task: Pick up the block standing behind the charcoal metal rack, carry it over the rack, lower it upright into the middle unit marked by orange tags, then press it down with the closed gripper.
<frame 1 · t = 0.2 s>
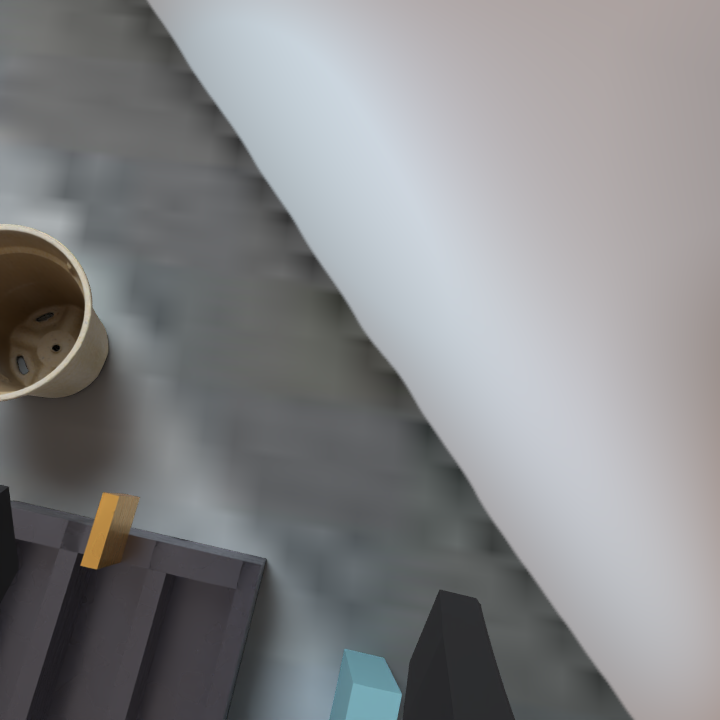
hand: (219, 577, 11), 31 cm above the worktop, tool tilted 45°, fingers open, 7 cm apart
rack: (95, 687, 38), on the worktop
flower pot: (59, 350, 42), on the worktop
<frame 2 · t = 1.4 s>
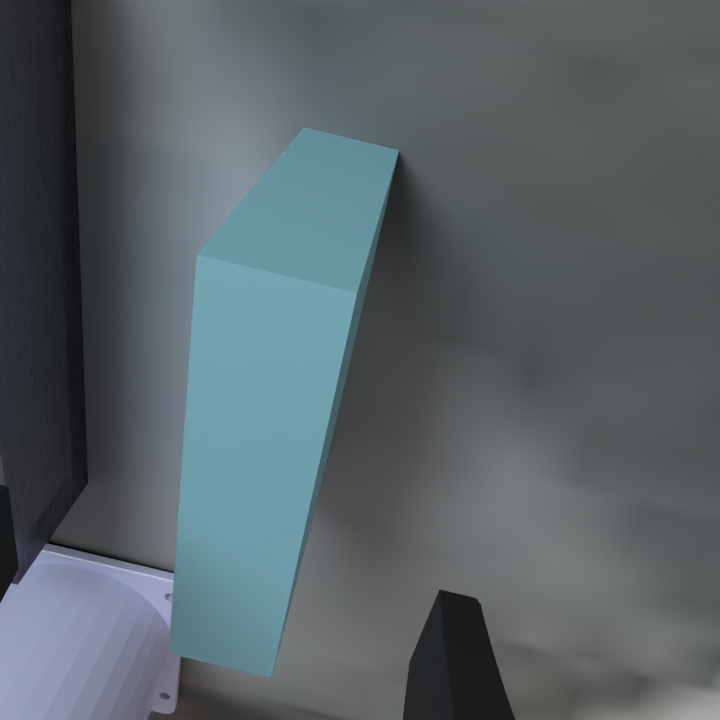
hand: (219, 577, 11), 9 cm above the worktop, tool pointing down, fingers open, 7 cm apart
block: (318, 312, 19), on the worktop
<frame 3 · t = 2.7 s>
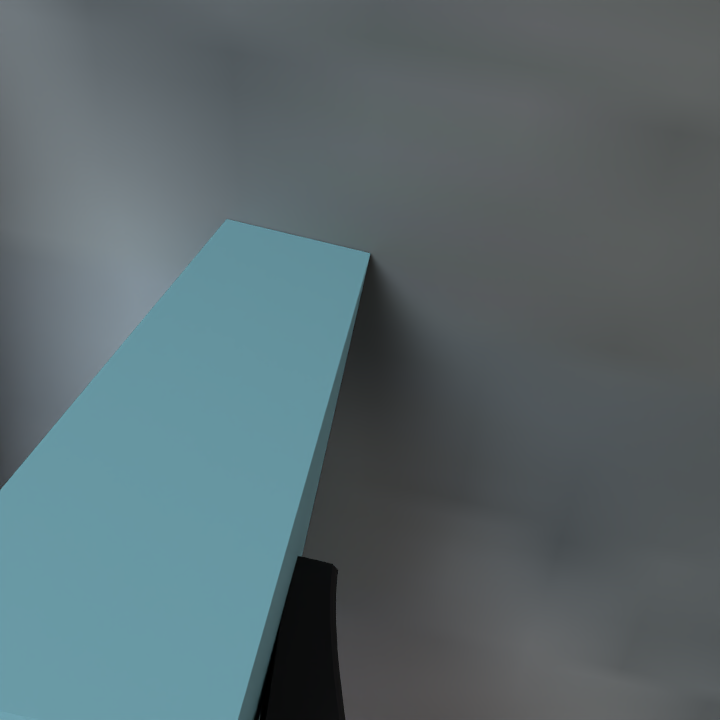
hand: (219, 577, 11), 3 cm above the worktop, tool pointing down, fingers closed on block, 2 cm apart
block: (262, 461, 14), on the worktop, touching gripper
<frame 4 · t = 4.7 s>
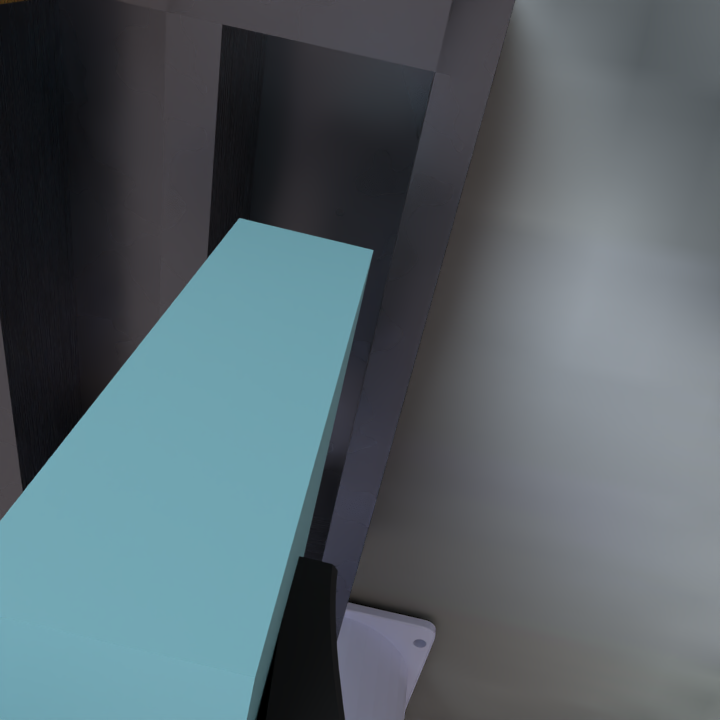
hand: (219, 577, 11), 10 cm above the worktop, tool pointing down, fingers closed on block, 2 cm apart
rack: (153, 267, 19), on the worktop
block: (271, 447, 14), point 6 cm above the worktop, touching gripper
when the fingers open (5 cm above the worktop, at t = 6.6 s): block stays where it is, resting on rack.
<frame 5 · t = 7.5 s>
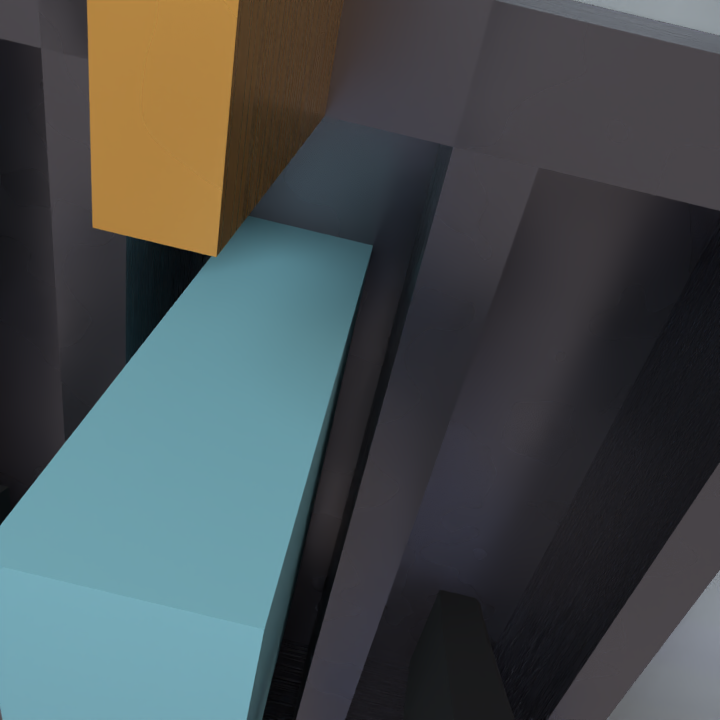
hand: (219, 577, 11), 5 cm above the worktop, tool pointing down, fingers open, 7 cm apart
rack: (286, 398, 15), on the worktop
block: (273, 437, 15), point 1 cm above the worktop, touching rack
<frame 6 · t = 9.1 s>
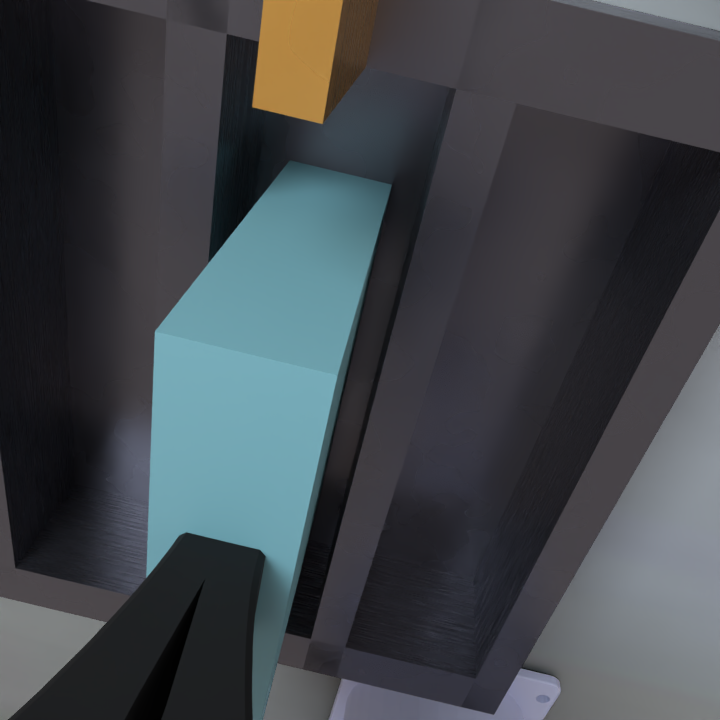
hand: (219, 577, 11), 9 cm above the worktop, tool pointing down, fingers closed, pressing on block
rack: (316, 322, 19), on the worktop
block: (307, 352, 18), point 1 cm above the worktop, touching gripper, rack
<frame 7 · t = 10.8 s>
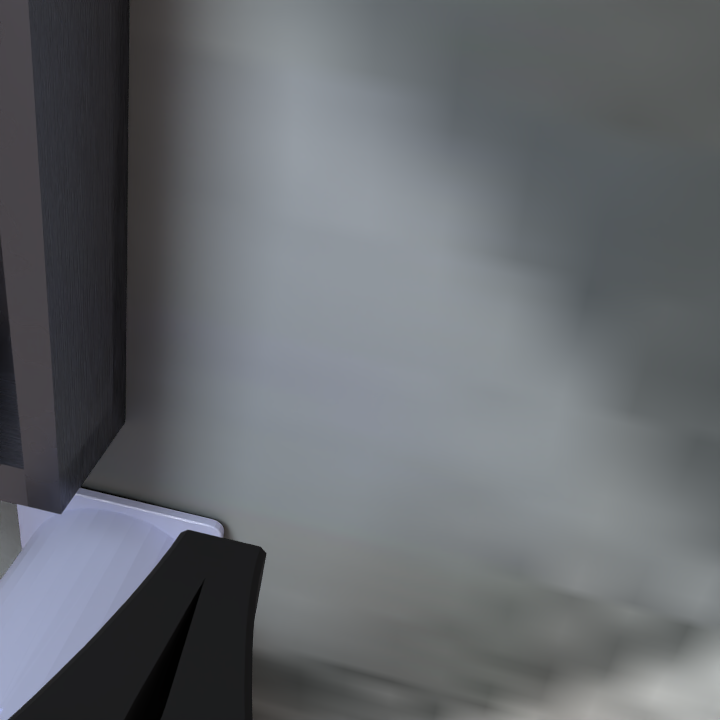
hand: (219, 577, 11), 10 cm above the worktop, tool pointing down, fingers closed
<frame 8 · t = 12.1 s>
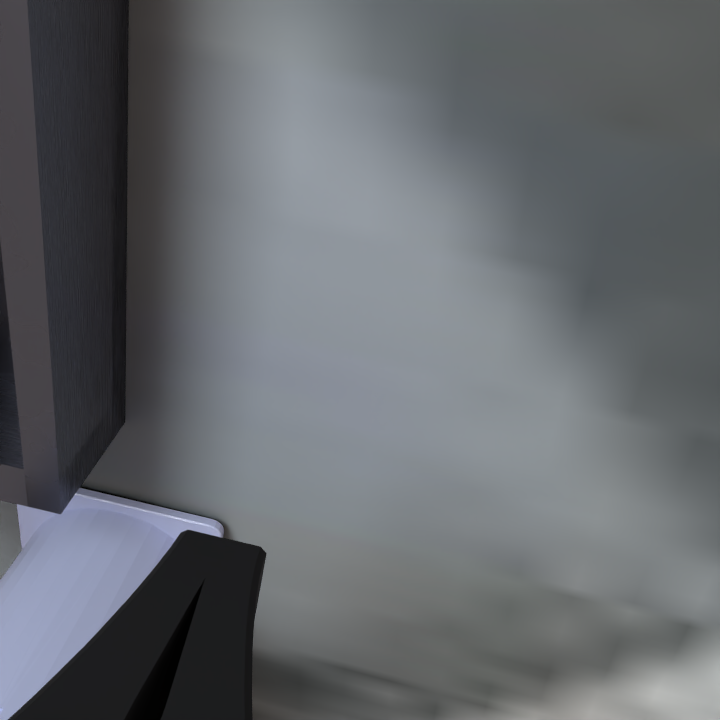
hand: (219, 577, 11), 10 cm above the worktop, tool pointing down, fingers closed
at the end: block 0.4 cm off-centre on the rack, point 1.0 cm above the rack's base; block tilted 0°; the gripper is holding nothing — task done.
